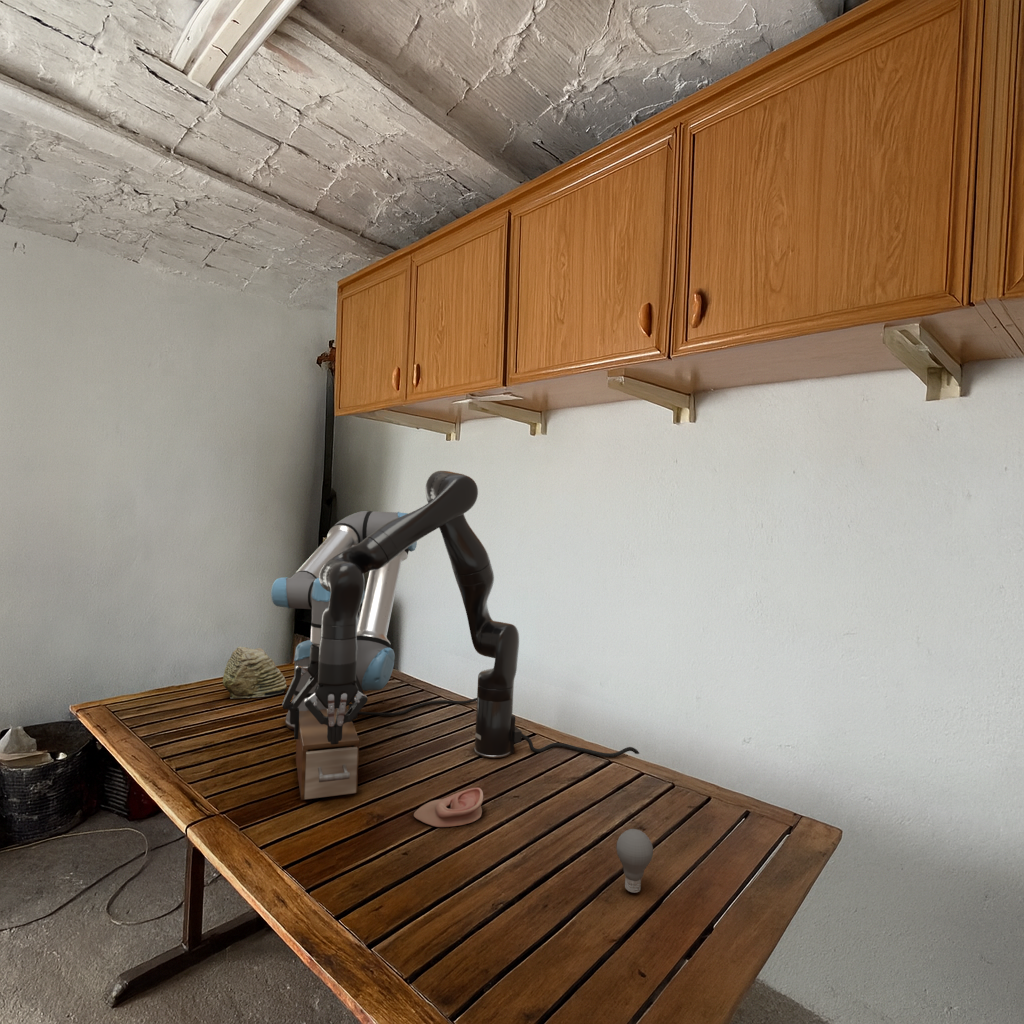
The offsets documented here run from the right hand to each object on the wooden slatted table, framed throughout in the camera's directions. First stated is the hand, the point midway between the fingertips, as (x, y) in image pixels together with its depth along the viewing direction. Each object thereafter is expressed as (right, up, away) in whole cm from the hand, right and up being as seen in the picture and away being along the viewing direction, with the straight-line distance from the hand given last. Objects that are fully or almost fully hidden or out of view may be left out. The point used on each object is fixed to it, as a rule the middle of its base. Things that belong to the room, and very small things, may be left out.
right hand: (334, 742), depth 129 cm
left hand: (-8, -6, +21) cm, 23 cm away
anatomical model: (+23, -15, 0) cm, 28 cm away
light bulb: (+56, -16, -23) cm, 63 cm away
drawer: (-4, -12, +10) cm, 16 cm away
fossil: (-44, -10, +69) cm, 83 cm away
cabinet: (-6, -13, +15) cm, 21 cm away
